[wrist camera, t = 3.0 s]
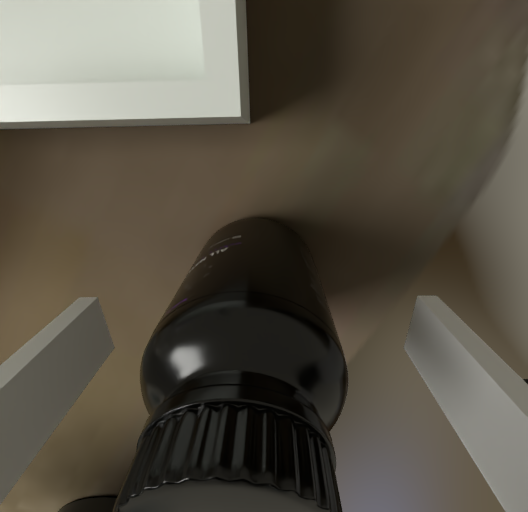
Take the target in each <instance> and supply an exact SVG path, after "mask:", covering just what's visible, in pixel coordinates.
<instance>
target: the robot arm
mask: <svg viewBox="0 0 528 512" xmlns="http://www.w3.org/2000/svg"><path fill="white" fill-rule="evenodd" d="M113 349H114V345H113V342H112V339H111V336H110V333H109V330H108V327H107V324H106V321H105V318H104V315H103V312H102V309H101V306H100V303H99V300H98V297H79V298H78V299H77V300H76V301H75V302H74V303H72V304H71V305H70V306H69V307H68V308H67V309H65V310H64V311H63V312H62V313H61V314H60V315H58V316H57V317H56V318H55V319H54V320H53V321H51V322H50V323H49V324H48V325H47V326H46V327H44V328H43V329H42V330H41V331H40V332H39V333H37V334H36V335H35V336H34V337H33V338H32V339H30V340H29V341H28V342H27V343H26V344H25V345H23V346H22V347H21V348H20V349H19V350H18V351H16V352H15V353H14V354H13V355H12V356H11V357H9V358H8V359H7V360H6V361H5V362H4V363H2V364H1V365H0V504H1V503H2V501H3V500H4V499H5V497H6V496H7V495H8V493H9V492H10V490H11V489H12V488H13V486H14V485H15V484H16V482H17V481H18V479H19V478H20V477H21V475H22V474H23V473H24V471H25V470H26V468H27V467H28V466H29V464H30V463H31V462H32V460H33V459H34V458H35V456H36V455H37V453H38V452H39V451H40V449H41V448H42V447H43V445H44V444H45V442H46V441H47V440H48V438H49V437H50V436H51V434H52V433H53V431H54V430H55V429H56V427H57V426H58V425H59V423H60V422H61V420H62V419H63V418H64V416H65V415H66V414H67V412H68V411H69V409H70V408H71V407H72V405H73V404H74V403H75V401H76V400H77V399H78V397H79V396H80V394H81V393H82V392H83V390H84V389H85V388H86V386H87V385H88V383H89V382H90V381H91V379H92V378H93V377H94V375H95V374H96V372H97V371H98V370H99V368H100V367H101V366H102V364H103V363H104V361H105V360H106V359H107V357H108V356H109V355H110V353H111V352H112V350H113ZM404 349H405V351H406V352H407V354H408V356H409V357H410V359H411V360H412V362H413V364H414V365H415V367H416V368H417V370H418V372H419V373H420V375H421V376H422V378H423V380H424V381H425V383H426V384H427V386H428V388H429V389H430V391H431V393H432V394H433V396H434V398H435V399H436V401H437V402H438V404H439V406H440V407H441V409H442V410H443V412H444V414H445V415H446V417H447V418H448V420H449V422H450V423H451V425H452V426H453V428H454V430H455V431H456V433H457V434H458V436H459V438H460V439H461V441H462V443H463V444H464V446H465V447H466V449H467V451H468V452H469V454H470V456H471V457H472V459H473V460H474V462H475V464H476V465H477V467H478V468H479V470H480V472H481V473H482V475H483V477H484V478H485V480H486V481H487V483H488V485H489V486H490V488H491V489H492V491H493V493H494V494H495V496H496V497H497V499H498V501H499V502H500V504H501V505H502V507H503V509H504V510H505V512H528V379H522V378H521V377H520V376H519V375H517V374H516V373H515V372H514V371H513V370H512V369H511V368H510V367H509V366H508V365H507V364H506V363H505V362H504V361H503V360H502V359H501V358H500V357H499V356H498V355H497V354H496V353H495V352H494V351H493V350H492V349H491V348H490V347H489V346H488V345H487V344H486V343H485V342H484V341H483V340H482V339H481V338H479V336H478V335H476V333H474V332H473V331H472V330H471V329H470V328H469V327H468V326H467V325H466V324H465V323H464V322H463V321H462V320H461V319H460V318H459V317H458V316H457V315H456V314H455V313H454V312H453V311H452V310H451V309H450V308H449V307H448V306H447V305H446V304H445V303H444V302H443V301H441V299H440V298H439V297H438V296H417V299H416V303H415V307H414V311H413V315H412V318H411V322H410V326H409V330H408V334H407V338H406V341H405V346H404ZM116 499H117V498H108V497H101V498H89V499H83V500H78V501H75V502H72V503H70V504H67V505H65V506H64V507H62V508H61V509H60V510H59V511H58V512H113V508H114V505H115V502H116Z"/></svg>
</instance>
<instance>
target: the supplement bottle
mask: <svg viewBox="0 0 528 512" xmlns="http://www.w3.org/2000/svg"><path fill="white" fill-rule="evenodd" d="M140 384H141V392H142V396H143V400H144V404H145V406H146V409H147V411H148V413H149V415H150V416H149V417H148V419H147V421H146V423H145V426H144V428H143V430H142V433H141V435H140V437H139V440H138V443H137V450H136V454H135V457H134V459H133V461H132V464H131V466H130V468H129V471H128V473H127V475H126V478H125V480H124V482H123V485H122V487H121V490H120V492H119V494H118V497H117V499H116V502H115V505H114V508H113V512H342V507H341V502H340V496H339V492H338V486H337V481H336V475H335V469H336V457H335V451H334V447H333V443H332V438H331V435H330V430H331V429H332V428H333V426H334V425H335V424H336V422H337V420H338V418H339V416H340V414H341V412H342V409H343V407H344V404H345V400H346V396H347V391H348V370H347V365H346V360H345V357H344V353H343V349H342V346H341V343H340V340H339V337H338V334H337V331H336V328H335V325H334V322H333V319H332V316H331V313H330V310H329V307H328V304H327V301H326V298H325V295H324V291H323V288H322V285H321V282H320V279H319V276H318V273H317V270H316V267H315V264H314V261H313V259H312V256H311V253H310V251H309V249H308V247H307V246H306V244H305V243H304V241H303V240H302V239H301V238H300V237H299V236H298V235H297V234H296V233H295V232H294V231H293V230H291V229H290V228H288V227H287V226H285V225H283V224H281V223H278V222H275V221H272V220H268V219H262V218H248V219H242V220H238V221H235V222H232V223H230V224H228V225H226V226H224V227H222V228H221V229H219V230H218V231H217V232H216V233H215V234H214V235H213V236H212V237H211V238H210V239H209V240H208V241H207V243H206V245H205V246H204V248H203V249H202V251H201V252H200V254H199V256H198V257H197V259H196V261H195V262H194V264H193V266H192V267H191V269H190V271H189V273H188V274H187V276H186V278H185V279H184V281H183V283H182V284H181V286H180V288H179V289H178V291H177V293H176V295H175V296H174V298H173V300H172V301H171V303H170V305H169V306H168V308H167V310H166V311H165V313H164V315H163V317H162V318H161V320H160V322H159V323H158V325H157V327H156V328H155V330H154V332H153V334H152V336H151V338H150V340H149V342H148V344H147V346H146V348H145V351H144V354H143V357H142V362H141V367H140Z"/></svg>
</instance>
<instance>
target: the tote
mask: <svg viewBox="0 0 528 512" xmlns="http://www.w3.org/2000/svg"><path fill="white" fill-rule="evenodd" d="M210 124H250V100H249V73H248V46H247V19H246V0H0V129H38V128H81V127H124V126H167V125H210Z"/></svg>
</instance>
